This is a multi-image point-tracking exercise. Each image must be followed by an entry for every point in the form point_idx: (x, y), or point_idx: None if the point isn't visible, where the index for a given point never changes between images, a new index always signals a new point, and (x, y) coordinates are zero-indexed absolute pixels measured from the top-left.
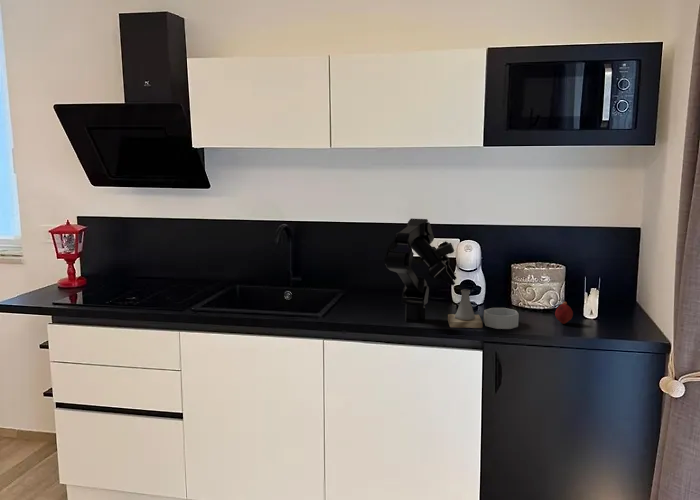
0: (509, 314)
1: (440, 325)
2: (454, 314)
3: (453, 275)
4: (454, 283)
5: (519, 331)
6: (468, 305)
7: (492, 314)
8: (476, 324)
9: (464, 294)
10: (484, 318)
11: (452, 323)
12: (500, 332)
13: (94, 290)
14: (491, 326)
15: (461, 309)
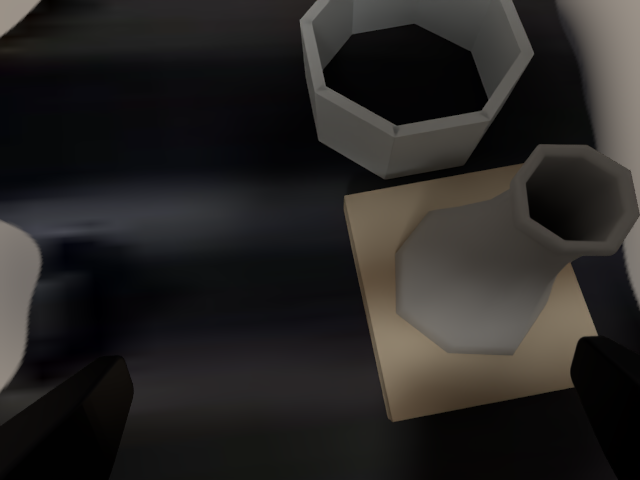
0: (333, 23)
1: (565, 458)
2: (385, 367)
3: (85, 423)
4: (610, 347)
5: None
6: (540, 218)
7: (505, 80)
8: None
9: (600, 220)
10: (420, 158)
11: None
12: (566, 86)
13: None
14: (486, 130)
15: (550, 286)
